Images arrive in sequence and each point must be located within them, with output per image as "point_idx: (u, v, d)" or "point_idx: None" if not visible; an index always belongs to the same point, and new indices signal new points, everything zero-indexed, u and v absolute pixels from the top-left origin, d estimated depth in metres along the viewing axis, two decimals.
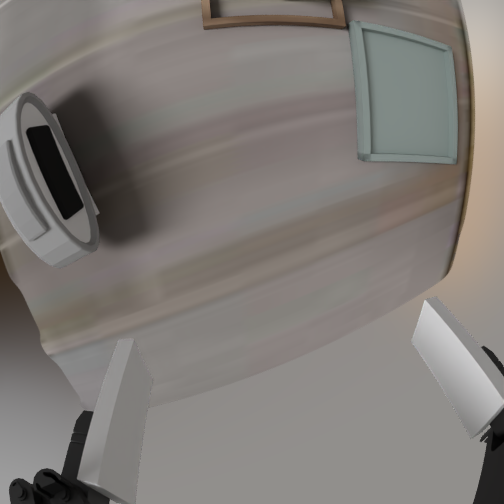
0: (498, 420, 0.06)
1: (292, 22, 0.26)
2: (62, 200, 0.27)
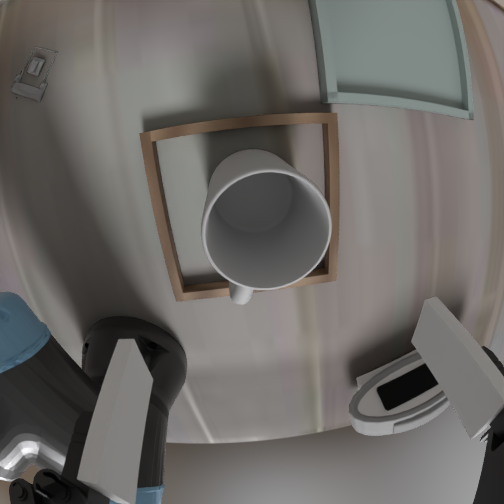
0: (498, 420, 0.06)
1: (338, 184, 0.26)
2: None
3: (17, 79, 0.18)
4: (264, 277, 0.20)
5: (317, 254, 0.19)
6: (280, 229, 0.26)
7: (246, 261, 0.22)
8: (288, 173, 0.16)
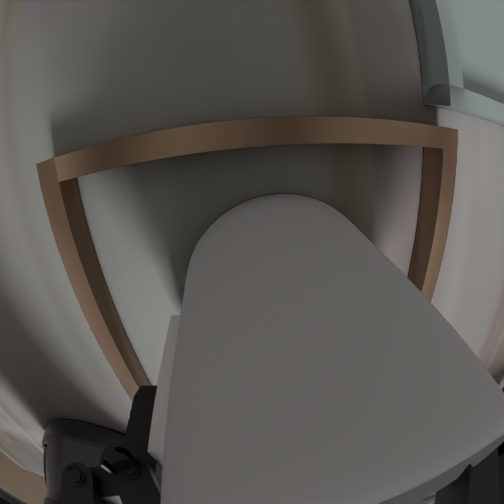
0: None
1: (437, 264, 0.13)
2: None
3: None
4: None
5: (430, 483, 0.05)
6: None
7: None
8: (492, 440, 0.02)
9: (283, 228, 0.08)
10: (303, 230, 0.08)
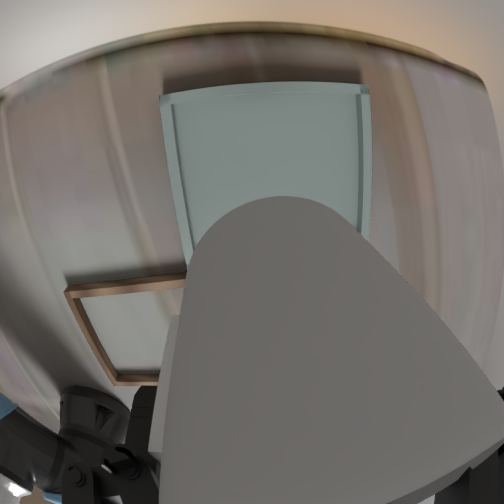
0: None
1: None
2: None
3: None
4: None
5: (428, 485, 0.05)
6: None
7: None
8: (488, 446, 0.02)
9: (282, 231, 0.08)
10: (302, 233, 0.08)
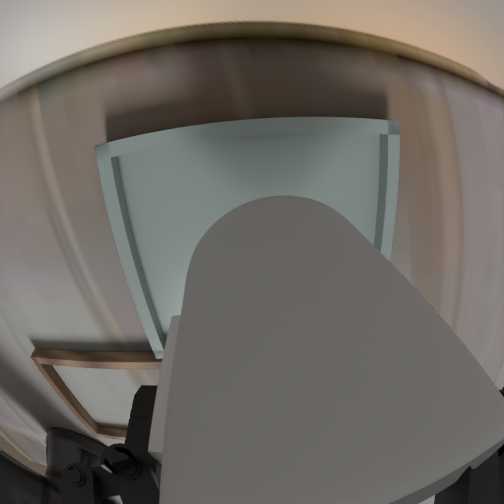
0: None
1: None
2: None
3: None
4: None
5: (429, 485, 0.05)
6: None
7: None
8: (491, 445, 0.02)
9: (283, 230, 0.08)
10: (303, 232, 0.08)
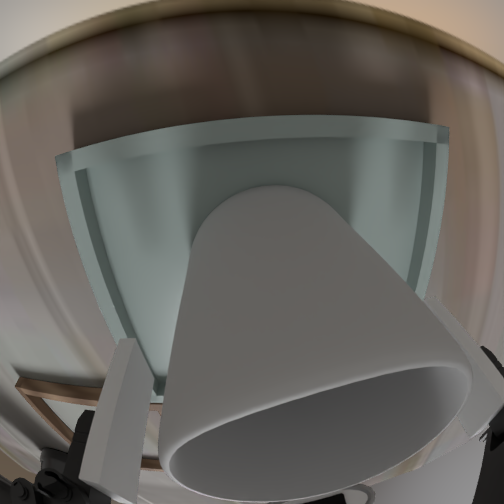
0: (497, 420, 0.06)
1: None
2: None
3: None
4: (300, 471, 0.08)
5: (408, 445, 0.07)
6: None
7: (264, 430, 0.10)
8: (431, 363, 0.04)
9: (269, 210, 0.10)
10: (285, 211, 0.10)
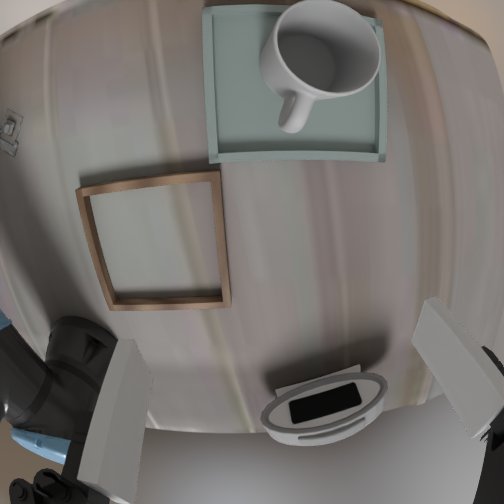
0: (498, 420, 0.06)
1: (224, 231, 0.33)
2: (349, 403, 0.41)
3: None
4: None
5: (370, 74, 0.17)
6: None
7: None
8: (344, 5, 0.14)
9: None
10: None
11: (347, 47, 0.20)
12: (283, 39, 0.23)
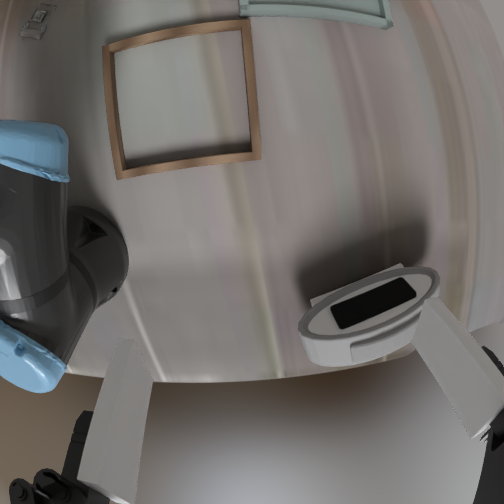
0: (498, 420, 0.06)
1: (254, 71, 0.28)
2: (402, 296, 0.35)
3: (25, 26, 0.19)
4: None
5: None
6: None
7: None
8: None
9: None
10: None
11: None
12: None
